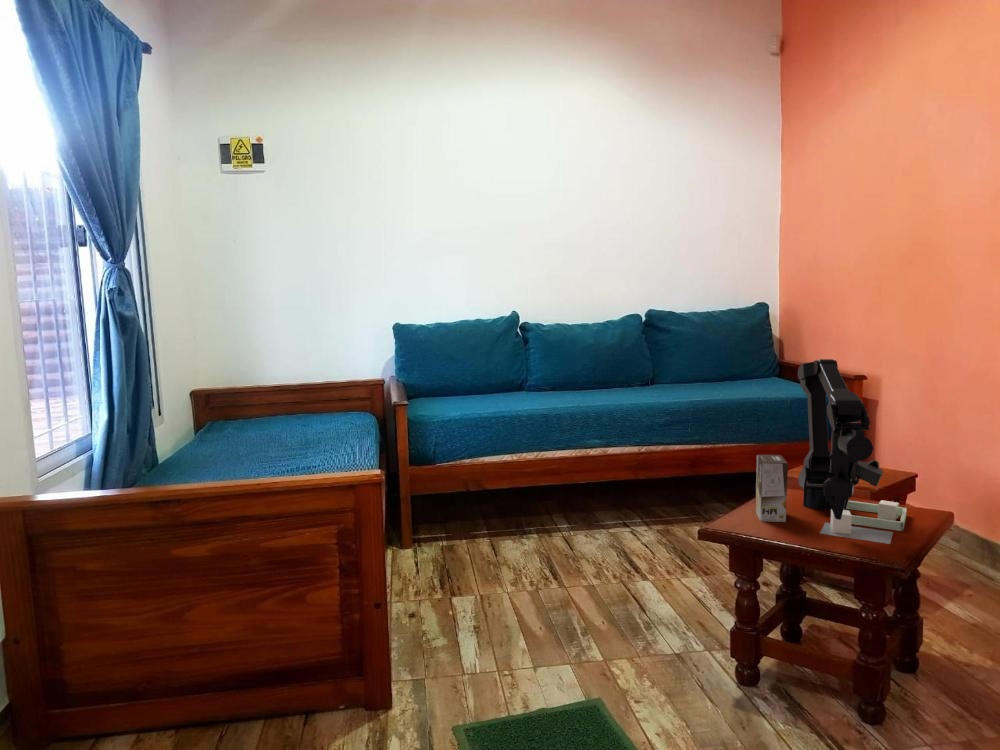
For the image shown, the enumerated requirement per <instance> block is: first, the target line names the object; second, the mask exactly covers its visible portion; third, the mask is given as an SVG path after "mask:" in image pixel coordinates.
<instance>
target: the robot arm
mask: <svg viewBox="0 0 1000 750" xmlns="http://www.w3.org/2000/svg"><path fill="white" fill-rule="evenodd" d="M843 378H844V377H843V376H842V374H841V372H840V369H838V361H837V360H836V359H835V360H834V359H833V358H832V359H831V358H828V359H827V358H826V359H825V358H822V359H819V358H818V359H817V360H816V359H815V360H813V361H810V362H803V363H802V364H800V366H798V369H797V379H798V380H799V383H800V385H799V386H800V388H801V389H802V391H803V392H804V394H805V395H806V397H807V415H808V437H809V440H808V441H809V451H808V453H807V455H805V457H804V459H803V466H802V468H801V469H800V473H799V474H798V477H797V479H798V485H799V486H800V487H801V488H802V489H803V495H802V496H803V498H802V499H803V500H802V501H803V502H802V506H803V507H807V508H809V509H812V510H831V509H832V511H833V513H834V516H835V518H836V519H838V520H841V517H842V513H843V510H847V509H846V507H847V503H848V501H850V500H849V499H850V498H852V497H853V495H854V490H855V486H856V485H857V484H859V482H860V480H862V481H864V482H866V483H869V484H870V485H871V486H873V487H877V486H878V485H879V482H880V480H881V478H882V476H883V474H884V470H883V468H880V462H879V461H877V460H875V459H872V460H870V461H868V462H867V461H865V460H868V459H869V458H870V457H871V456H872V453H873V452H874V451H873V450H874V446H873V443H872V442H871V440H870V439H869V437H866V436H865V431H870V424H871V422H870V419H869V415H868V412H867V411H868V410H867V409H866V407H865V404H864V403H863V401H862V399H861V398H860V397H859V396H858V394H857V393H854V392H852V391H850V390H849V389H848V386H847V384H846V382H845V381H844V379H843ZM827 398H828V399H827ZM827 400H828V404H827ZM828 421H829V424H830V427H831V438H830V439H831V440H830V447H829V427H828V426H829V425H828ZM829 448H830V449H829Z"/></svg>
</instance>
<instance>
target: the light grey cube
mask: <svg viewBox="0 0 1000 750" xmlns="http://www.w3.org/2000/svg"><path fill="white" fill-rule="evenodd" d="M877 504H878V513H877V519H885V520H892V521H897V519H898V518H899V516H898V509H899V507H900V503H899V502H897V501H896V502H895V501H889V500H882V499H881V500H880V501H879V502H878V503H877Z"/></svg>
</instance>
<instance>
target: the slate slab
mask: <svg viewBox="0 0 1000 750" xmlns="http://www.w3.org/2000/svg"><path fill="white" fill-rule="evenodd" d="M819 534H820V535H827V536H832V537H833V536H834V537H841V538H846V539H847V538H848V539H852V540H853V539H854V540H859V541H866V542H874V543H881V544H886V545H890V544H892V543H891V542H892V538H893V534H894V532H893V531H888V530H887V531H886V530H881V529H875V528H867V527H862V526H853V525H851V534H847V533H833V532H832V530H831V528H830V522H826V521H825V522H824V524H823V526H822V528H821V529H820V532H819Z"/></svg>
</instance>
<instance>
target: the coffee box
mask: <svg viewBox="0 0 1000 750" xmlns="http://www.w3.org/2000/svg"><path fill="white" fill-rule="evenodd" d="M788 468H789V463H788V462H787V460H786V459H785V458H784V457H783V456H782V455H781V454H757V455H756V470H755V471H756V473H755V474H756V475H755V477H756V479H755V481H756V482H755V512H756V513H755V514H756V516H757V517H758V519H759V521H760V522H773V523H775V522H776V523H777V522H779V523H780V522H781V523H786V522H787V500H788Z"/></svg>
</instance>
